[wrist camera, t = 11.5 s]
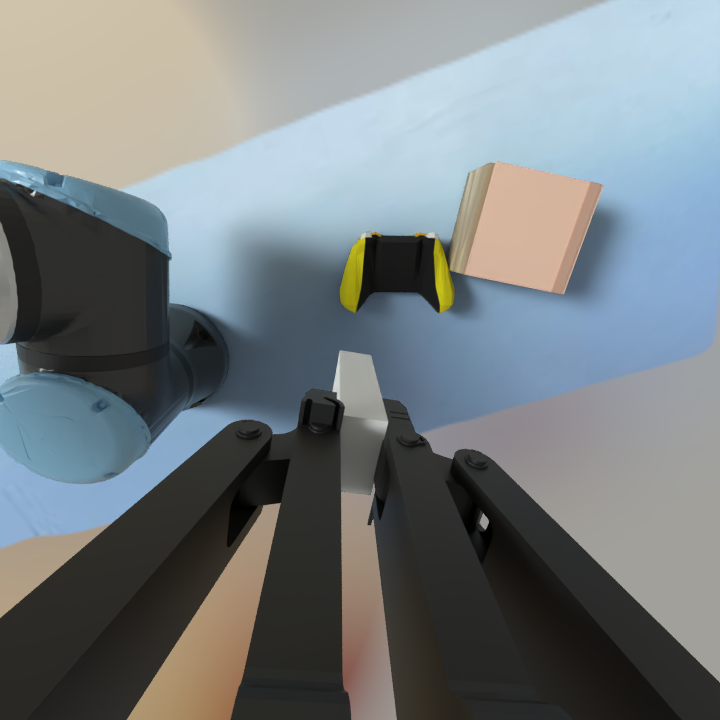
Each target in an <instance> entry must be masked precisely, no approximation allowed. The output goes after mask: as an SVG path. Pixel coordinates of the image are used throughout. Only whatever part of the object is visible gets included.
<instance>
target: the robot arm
mask: <svg viewBox="0 0 720 720" xmlns="http://www.w3.org/2000/svg"><path fill="white" fill-rule="evenodd" d="M171 259H172V256H171V253H170V251H169V242H168V225H167V221H166V218H165V216H164V214H163V213H162V212H161V211H160V209H159V208H157V207H156V206H155V205H153V204H152V203H150V202H148V201H146V200H143V199H141V198H138V197H136V196H133V195H130V194H127V193H124V192H121V191H118V190H115V189H112V188H109V187H106V186H102V185H99V184H96V183H92V182H89V181H86V180H82V179H79V178H75V177H71V176H67V175H60V174H58V173H55V172H51V171H46V170H44V169H41V168H38V167H34V166H30V165H26V164H21V163H17V162H12V161H6V160H0V345H1V344H10V343H16V348H17V355H18V363H19V370H20V375H17V376H14V377H12V378H10V379H8V380H7V381H5V382H4V383H3V384H2V386H1V387H0V447H1V448H2V449H3V451H4V452H5V453H6V454H7V455H9V456H10V457H11V458H12V459H13V460H14V461H16V462H17V463H20V464H22V465H24V466H25V467H26V468H28V469H29V470H30V471H32V472H34V473H36V474H38V475H40V476H43V477H45V478H48V479H51V480H55V481H59V482H65V483H73V484H90V483H97V482H102V481H105V480H108V479H111V478H113V477H115V476H117V475H119V474H120V473H122V472H123V471H125V470H126V469H127V468H128V467H129V466H130V465H131V464H132V463H134V462H135V461H136V460H137V459H139V458H141V457H143V456H144V455H145V454H146V452H147V450H148V449H149V447H150V445H151V444H152V443H153V442H154V441H155V440H156V439H157V438H158V436H159V435H160V434H161V433H162V432H163V431H164V430H165V429H166V428H167V427H168V425H169V424H170V423H171V422H172V421H173V420H174V419H175V418H176V417H177V415H178V414H179V413H180V412H181V411H184V410H187V409H190V408H193V407H196V406H198V405H200V404H202V403H204V402H205V401H207V400H208V399H209V398H211V397H212V396H213V395H214V394H215V393H216V391H217V390H218V389H219V388H220V386H221V385H222V383H223V382H224V380H225V378H226V375H227V372H228V367H229V355H228V349H227V346H226V343H225V341H224V339H223V337H222V335H221V333H220V332H219V330H218V329H217V328H216V326H215V325H214V324H213V323H212V322H211V321H210V320H209V319H207V318H206V317H205V316H204V315H202V314H201V313H199V312H197V311H195V310H193V309H191V308H189V307H186V306H182V305H178V304H171V303H169V260H171ZM373 484H375V494H374V499H373V503H372V507H371V511H370V515H369V519H368V525H371V523H372V520H373V519H374V526H375V534H376V543H377V551H378V560H379V569H380V577H381V586H382V595H383V603H384V612H385V621H386V629H387V637H388V646H389V655H390V664H391V672H392V681H393V690H394V698H395V707H396V716H397V720H720V683H719V681H718V680H716V678H714V676H712V675H711V674H710V673H709V672H708V671H707V670H706V669H705V668H704V667H703V666H702V665H701V664H700V663H699V662H698V661H697V660H696V659H695V658H694V657H693V656H692V655H691V654H690V653H689V652H688V651H687V650H686V649H685V648H684V647H683V646H682V645H681V644H680V643H679V642H678V641H677V640H676V639H675V638H674V637H673V636H672V635H671V634H670V633H669V632H667V630H665V628H664V627H662V626H661V624H659V623H658V622H657V621H656V620H655V619H654V618H653V617H652V616H651V615H650V614H649V613H648V612H647V611H646V610H645V609H644V608H643V607H642V606H641V605H640V604H639V603H638V602H637V601H636V600H635V599H634V598H633V597H632V596H631V595H630V594H629V593H628V592H627V591H626V590H625V589H624V588H623V587H622V586H621V585H620V584H619V583H618V582H617V581H616V580H615V579H613V577H612V576H610V574H609V573H607V572H606V571H605V570H604V569H603V568H602V567H601V566H600V565H599V564H598V563H597V562H596V561H595V560H594V559H593V558H592V557H591V556H590V555H589V554H588V553H587V552H586V551H585V550H584V549H583V548H582V547H581V546H580V545H579V544H578V543H577V542H576V541H575V540H574V539H573V538H572V537H571V536H570V535H569V534H568V533H567V532H566V531H565V530H564V529H563V528H562V527H560V525H559V524H558V523H557V522H556V521H554V519H552V518H551V517H550V516H549V515H548V514H547V513H546V512H545V511H544V510H543V509H542V508H541V507H540V506H539V505H538V504H537V503H536V502H535V501H534V500H533V499H532V498H531V497H530V496H529V495H528V494H527V493H526V492H525V491H524V490H523V489H522V488H521V487H520V486H519V485H517V483H516V482H515V481H514V480H513V479H512V478H511V477H510V476H509V475H508V474H507V473H506V472H504V470H502V468H501V467H499V466H498V465H497V464H496V463H495V462H494V461H493V460H492V459H491V458H489V457H488V456H486V455H484V454H482V453H481V452H479V451H475V450H468V449H461V450H458V451H456V452H455V455H454V458H453V459H449V458H446V457H443V456H440V455H438V454H435V453H433V451H432V449H431V447H430V444H429V442H428V441H427V440H426V439H425V438H424V437H423V436H421V435H419V434H417V433H415V430H414V427H413V425H412V422H411V420H410V417H409V415H408V412H407V409H406V407H405V406H404V405H403V404H401V403H400V402H399V401H396V400H389V399H383V398H382V396H381V392H380V388H379V384H378V380H377V377H376V373H375V369H374V365H373V361H372V357H371V355H366V354H360V353H354V352H348V351H342V350H340V352H339V358H338V364H337V369H336V375H335V380H334V386H333V391H332V392H331V391H324V390H317V389H311V390H310V391H308V392H307V393H306V395H305V397H304V398H303V400H302V401H301V408H300V414H299V421H298V427H297V428H296V429H295V430H293V431H291V432H288V433H285V434H274V435H272V430H271V428H270V427H269V426H268V425H267V424H264V423H262V422H259V421H254V420H240V421H236V422H233V423H231V424H229V425H227V426H226V427H225V428H224V429H223V430H221V431H220V432H219V433H218V434H217V435H216V436H214V437H213V438H212V439H211V440H210V441H208V442H207V443H206V444H205V445H204V446H203V447H201V448H200V449H199V450H198V451H197V452H196V453H194V454H193V455H192V456H191V457H190V458H188V459H187V460H186V461H185V462H184V463H183V464H181V465H180V466H179V467H178V468H177V469H175V470H174V471H173V472H172V473H171V474H170V475H168V476H167V477H166V478H165V479H164V480H163V481H161V482H160V483H159V484H158V485H157V486H155V487H154V488H153V489H152V490H151V491H150V492H148V493H147V494H146V495H145V496H144V497H142V498H141V499H140V500H139V501H138V502H137V503H135V504H134V505H133V506H132V507H131V508H130V509H128V510H127V511H126V512H125V513H124V514H122V515H121V516H120V517H119V518H118V519H117V520H115V521H114V522H113V523H112V524H111V525H110V526H108V527H107V528H106V529H105V530H104V531H103V532H101V533H100V534H99V535H98V536H97V537H95V538H94V539H93V540H92V541H91V542H89V543H88V544H87V545H86V546H85V547H84V548H82V549H81V550H80V551H79V552H78V553H77V554H75V555H74V556H73V557H72V558H71V559H69V560H68V561H67V562H66V563H65V564H64V565H62V566H61V567H60V568H59V569H58V570H56V571H55V572H54V573H53V574H52V575H51V576H49V577H48V578H47V579H46V580H45V581H44V582H42V583H41V584H40V585H39V586H38V587H36V588H35V589H34V590H33V591H32V592H31V593H29V594H28V595H27V596H26V597H25V598H23V599H22V600H21V601H20V602H19V603H18V604H16V605H15V606H14V607H13V608H12V609H11V610H9V611H8V612H7V613H6V614H5V615H3V616H2V617H1V618H0V720H127V718H128V717H129V715H130V714H131V712H132V710H133V709H134V707H135V706H136V704H137V702H138V701H139V700H140V698H141V697H142V695H143V694H144V692H145V691H146V689H147V687H148V686H149V684H150V683H151V681H152V680H153V678H154V677H155V675H156V674H157V672H158V670H159V669H160V667H161V666H162V664H163V663H164V661H165V659H166V658H167V657H168V655H169V654H170V652H171V651H172V649H173V647H174V646H175V644H176V643H177V641H178V640H179V638H180V637H181V635H182V634H183V632H184V631H185V629H186V627H187V626H188V624H189V623H190V621H191V620H192V618H193V617H194V615H195V614H196V612H197V610H198V609H199V607H200V606H201V604H202V603H203V601H204V599H205V598H206V596H207V595H208V594H209V592H210V591H211V589H212V587H213V586H214V584H215V583H216V581H217V580H218V578H219V577H220V575H221V573H222V572H223V571H224V569H225V567H226V566H227V564H228V562H229V561H230V560H231V558H232V557H233V555H234V553H235V552H236V550H237V549H238V547H239V546H240V544H241V543H242V541H243V539H244V538H245V537H246V535H247V534H248V532H249V531H250V529H251V527H252V526H253V524H254V523H255V521H256V520H257V518H258V516H259V515H260V514H261V511H262V508H263V505H268V504H276V503H281V505H280V509H279V514H278V519H277V523H276V528H275V532H274V537H273V541H272V546H271V551H270V555H269V560H268V564H267V569H266V574H265V578H264V583H263V587H262V592H261V596H260V601H259V606H258V610H257V615H256V620H255V624H254V629H253V633H252V638H251V643H250V647H249V651H248V656H247V661H246V665H245V670H244V674H243V679H242V682H241V684H240V686H239V688H238V692H237V696H236V699H235V704H234V708H233V713H232V717H231V720H351V711H350V701H349V696H348V692H346V691H345V690H344V687H343V677H342V571H341V570H342V569H341V568H342V567H341V491H342V492H351V493H359V494H366V495H371V492H372V488H373ZM483 513H484V514H485V516H486V517H487V518H488V520H489V524H488V526H487V529H486V530H485V529H484V528H483V527H482V526H481V525H480V524H479V522H480V519H481V517H482V514H483Z"/></svg>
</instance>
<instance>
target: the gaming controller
mask: <svg viewBox="0 0 720 720" xmlns="http://www.w3.org/2000/svg"><path fill="white" fill-rule="evenodd" d="M374 292H417V293H419V294H420V295H421V296H422V297H423V298H424V299H425V300H426V301H427V302H428V303H429V304H430V305H431V306H432V307H433V308H434V309H435V311H436V312H438V313H441V312H444V311H446V310H448V309H449V308H450V307H451V306H452V304H453V303H454V294H455V290H454V286H453V282H452V279H451V275H450V271H449V268H448V264H447V261H446V257H445V253H444V250H443V248H442V244H441V242H440V241H439V238H438V235H437V234H436V233H433V232H430V233H429V234H427V235H426V234H423V233H416V234H415V235H413V236H381V235H380V234H378V233H376V232H375V233H370V232H365V233H363V234H362V235H361V238H359V239H358V241H357V243H356V244H354V246H353V247H352V249H351V252H350V254H349V257H348V260H347V263H346V265H345V269H344V273H343V277H342V281H341V285H340V303H341V304H342V305H343V306H344V307H345V308H346V309H348V310H350V311H352V312H354V313H356V312H357V311H358V310H359V308H360V307H361V306H362V305H363V303H364V302H365V301H366V299H367V298H368V297H369V295H371V294H372V293H374Z"/></svg>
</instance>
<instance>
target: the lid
mask: <svg viewBox="0 0 720 720" xmlns="http://www.w3.org/2000/svg"><path fill="white" fill-rule="evenodd" d="M603 186H604V185H601V184H599V183H594V182H587V181H583V180H578V179H574V178H569V177H565V176H560V175H556V174H551V173H547V172H542V171H538V170H534V169H529V168H525V167H520V166H516V165H511V164H507V163H502V162H496V163H495V165H494V169H493V173H492V176H491V180H490V183H489V187H488V191H487V194H486V198H485V201H484V205H483V209H482V212H481V216H480V219H479V223H478V227H477V230H476V234H475V237H474V241H473V245H472V248H471V252H470V255H469V259H468V263H467V266H466V270H465V275H469V276H474V277H479V278H484V279H489V280H494V281H499V282H504V283H509V284H514V285H519V286H524V287H528V288H533V289H538V290H543V291H548V292H553V293H558V294H563V295H564V292H565V290H566V287H567V284H568V282H569V279H570V276H571V273H572V271H573V268H574V265H575V262H576V260H577V257H578V254H579V252H580V249H581V246H582V243H583V241H584V238H585V235H586V233H587V230H588V227H589V224H590V222H591V219H592V216H593V214H594V211H595V208H596V205H597V203H598V200H599V197H600V194H601V192H602V189H603Z"/></svg>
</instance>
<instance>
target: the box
mask: <svg viewBox="0 0 720 720" xmlns="http://www.w3.org/2000/svg"><path fill="white" fill-rule="evenodd" d="M494 165H495V163H488V164H486V165H484V166H482V167H480V168H478V169H476V170H474V171H472V172H470V173H469V174H468V177H467V181H466V185H465V189H464V193H463V197H462V201H461V204H460V208H459V212H458V216H457V220H456V224H455V228H454V232H453V235H452V239H451V243H450V247H449V251H448V255H447V259H446V261H447V264H448V268H449V270H451V271H454V272H457V273H461V274H465V270H466V266H467V263H468V259H469V255H470V252H471V248H472V245H473V241H474V237H475V234H476V230H477V227H478V223H479V219H480V216H481V212H482V209H483V205H484V201H485V198H486V194H487V191H488V187H489V183H490V180H491V176H492V173H493V169H494Z"/></svg>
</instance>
